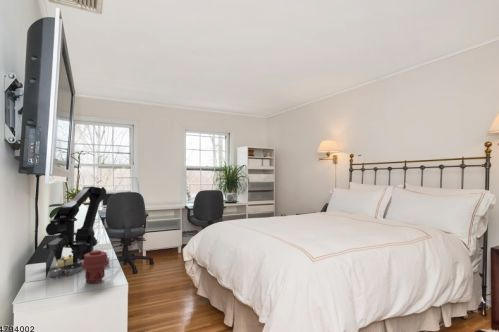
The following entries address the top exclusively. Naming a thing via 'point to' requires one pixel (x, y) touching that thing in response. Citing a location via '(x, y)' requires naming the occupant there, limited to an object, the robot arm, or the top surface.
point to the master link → (65, 261)
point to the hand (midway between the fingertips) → (66, 263)
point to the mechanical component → (95, 265)
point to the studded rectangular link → (61, 270)
